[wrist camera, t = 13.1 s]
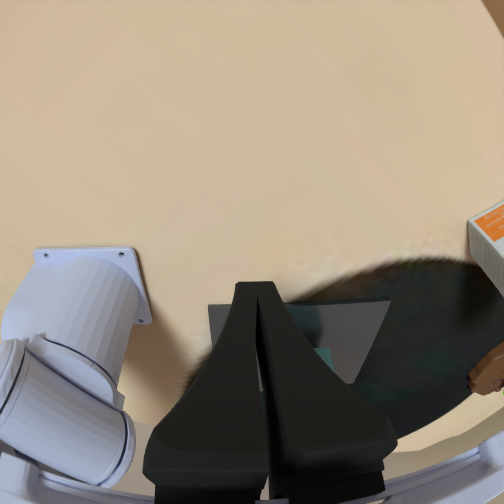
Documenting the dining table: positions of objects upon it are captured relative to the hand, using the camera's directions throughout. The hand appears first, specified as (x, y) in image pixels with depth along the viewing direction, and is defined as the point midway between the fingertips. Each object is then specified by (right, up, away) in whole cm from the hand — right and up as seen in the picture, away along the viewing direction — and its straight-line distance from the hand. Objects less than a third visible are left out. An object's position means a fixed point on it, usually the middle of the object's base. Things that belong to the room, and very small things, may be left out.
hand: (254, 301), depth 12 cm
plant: (+46, -16, +27) cm, 56 cm away
